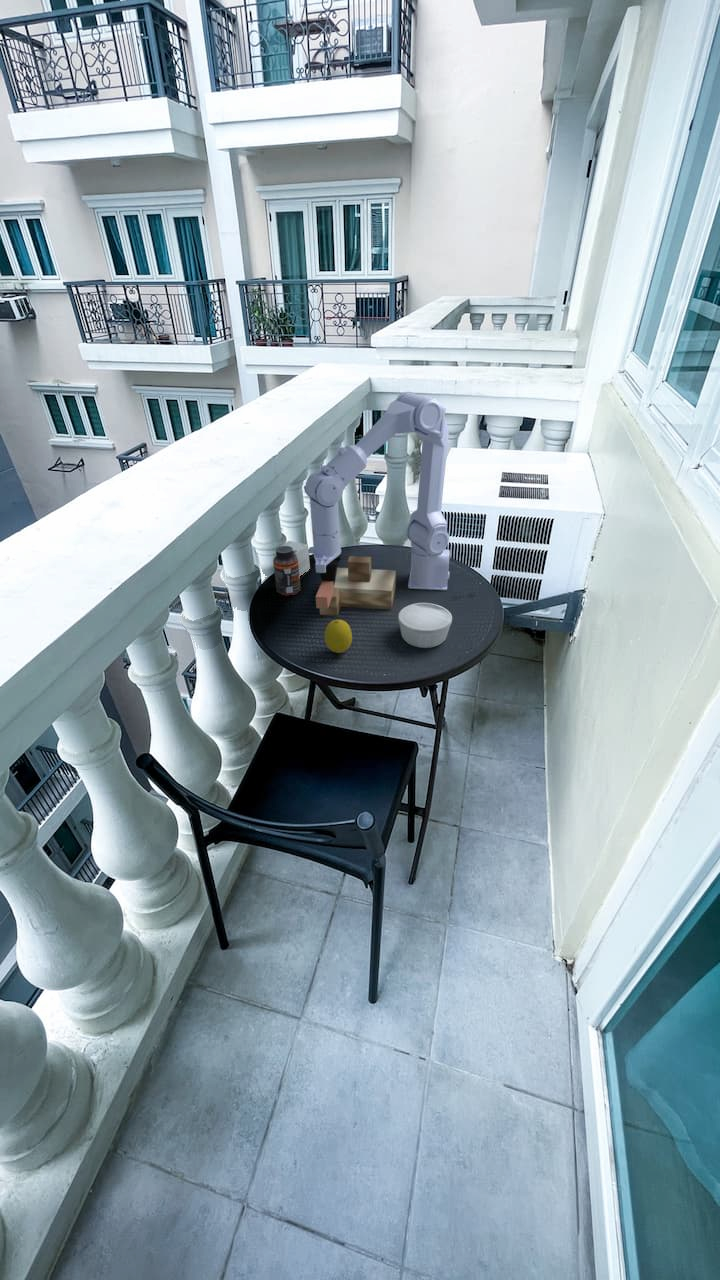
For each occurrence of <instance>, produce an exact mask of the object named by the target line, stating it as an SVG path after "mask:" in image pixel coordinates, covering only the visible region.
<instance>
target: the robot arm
mask: <svg viewBox="0 0 720 1280" xmlns="http://www.w3.org/2000/svg"><path fill="white" fill-rule="evenodd" d="M446 410H447V409H446V407H444V405H443V404H442V403H441V402H439V400H437V399H435V398H431V397H426V396H423V395H420V394H416V393H414V392H412V391H404V392H401V393H400V394H399V395H398V396H397V398H396V399H394V401H392V402H390V403H389V405H388V407H387V410H386V411H385V413H384V414H383V415H382V416H381V417H380V418H379V419H378V420H377V421H376V423H375V424H374V425H372V427H371V428H370V429H369V430H368V431H367V432H366V433H365V435H363V436H362V438H360V439H359V441H358V442H357V443H355V445H352V444H350V445H349V444H348V445H345V447H343V446H341V447H340V448H339V449H338V450H337V454H336V455H335V456H334V457H333V458H332V459H331V460H330V461H329V462H328V463H326V465H322V467H321V468H320V471H319V470H317V471H314V472H313V473H310V475H309V476H308V477H307V479H306V482H305V485H304V486H303V491H304V493H305V494H306V495H307V496H308V497H309V506H310V520H311V522H310V523H311V532H312V534H311V535H312V544H313V546H311V547H308V552H309V555H310V554H312V555H313V558H314V559H313V561H312V562H313V566H314V567H315V573H318V574H319V576H320V578H321V582H322V581H332V582H333V584H334V585H335V580H336V573H337V568H339V564H340V562H341V559H342V548H341V542H340V541H341V540H340V521H339V517H340V516H339V502H340V501H341V500H342V497H343V493H344V490H345V489H346V487H347V486H348V485H349V484H350V483H351V482H352V481H353V480H354V479H355V478H357V477H358V475H359V474H361V473H362V472H363V471H364V469H366V467H367V459H368V458H369V457H370V456H372V455H373V454H374V453H375V452H376V451H378V449H380V448H381V447H382V446H384V445H385V444H386V443H387V442H388V441H389V440H391V439H392V438H393V437H395V435H396V434H403V433H404V434H405V433H406V434H410V433H416V435H418V437H420V439H421V440H422V445H421V454H420V455H421V456H420V457H421V458H420V466H419V480H418V482H419V483H418V492H417V493H418V494H417V506H416V507H417V508H416V509H415V510H414V511H413V512H412V513H410V520H409V523H408V524H407V527H406V532H405V533H406V537H407V539H408V540H409V541H410V546H411V554H410V556H411V557H410V558H411V559H410V573H409V578H408V583H407V588H408V589H413V590H414V589H415V590H429V591H430V590H431V591H433V590H434V591H435V590H436V591H447V590H448V584H449V583H448V581H449V579H450V571H449V569H450V552H451V550H450V549H446V548H447V547H448V544H449V541H450V537H449V536H450V535H449V533H448V523H447V520H446V519H445V517H444V515H443V513H442V505H443V504H442V503H443V495H444V485H445V477H446V476H445V474H446V464H447V456H448V447H449V446H448V445H449V436H450V435H449V434H450V430H449V427H448V423H447V420H446V417H445V416H446Z"/></svg>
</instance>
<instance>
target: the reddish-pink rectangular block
mask: <svg viewBox="0 0 720 1280" xmlns="http://www.w3.org/2000/svg"><path fill="white" fill-rule="evenodd" d="M333 594H334V584H333V582H332V581H322V580H321V582H320V585H319V588H318V590H317V593H316V595H315V604H316V605H315V606H316V607H315V608H316V609H320V608H325V609H328V607H329V605H330V602H331V599H332V597H333Z"/></svg>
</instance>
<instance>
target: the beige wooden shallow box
mask: <svg viewBox="0 0 720 1280" xmlns="http://www.w3.org/2000/svg"><path fill="white" fill-rule="evenodd" d="M396 578H397V575H396V576H395V581H394V586H393V591H392V595H389V594H369V593H350V592H340V589H339V588H335V587H334V594H333V597H332V599H331V602H330V605H329V607H328V609H325V608H319V614H320V616H333V617H334V616H335V617H337V616H338V615H339V612H340V609H341V608H352V609H353V608H354V609H355V608H356V609H357V608H358V609H371V610H390V611H391V610H393V609H392V608H393V604H394V599H395V594H396V587H397V585H396V583H397V582H396V580H397V579H396Z"/></svg>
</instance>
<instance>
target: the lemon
mask: <svg viewBox="0 0 720 1280" xmlns="http://www.w3.org/2000/svg"><path fill="white" fill-rule="evenodd" d="M352 632H353V631H352V629H351V627H350V625H349V624H348V623H347V621H345V620H342V619H334V620H331V621H330V622H329V623H328V624H327V626H326V628H325V631H324V642H325V645H326V646H327V648H328V649H329V650H330V651H332V652H333V653H337V654H341V653H344V652H346V651H347V650H348V649H349V648H350V647H351V646H352V645H351V644H352V642H353V633H352Z"/></svg>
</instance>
